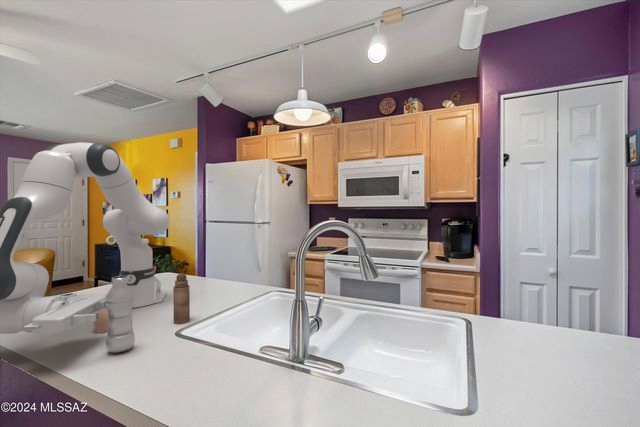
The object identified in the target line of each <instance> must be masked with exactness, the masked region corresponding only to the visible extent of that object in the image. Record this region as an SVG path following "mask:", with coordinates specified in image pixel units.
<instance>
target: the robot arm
mask: <svg viewBox="0 0 640 427" xmlns="http://www.w3.org/2000/svg"><path fill="white" fill-rule="evenodd" d="M91 177H92V178H94V179H95V181H96V183H97V185H98V187H99V188H100V190H101V192H102V194H103V195H104V198H105V199H106V201H107V202H108V204H109V205H110V206H112V207H114V208H116V209H110V210H109V211H106V213H104V215H103V218H102V226H103V228H104V230H105V231H107V232H108V233H109V234H110V235H111V236H112V237H113V239H114V240H115V241H116V243H117V246H118V248H119V249H118V250H119V251H120V270H119V275H118V276H128V283H127V286H128V287H129V288H130V289H131V290H132V291H133V294H134V299H133V306H132V309H133V308H134V309H135V308H141V307H147V306H151V305H154V304H159V303H162V302H163V301H164V300H165V297H166V296H167V293H168V292H167V291H166V290H162V285H161V281H160V280H159V279H158V278H157V277H156V276H155V274H156V273H155V272H156V270H157V266H154V265H153V260H154V259H153V256H154V255H153V248H152V247H151V246H150V245H148V244H147V243H145V242H144V241H143V239H142V237H141V236H153V235H154V236H155V235H159V234H163V233H165V232H166V231H167V230H168V228H169V226H170V217H169V215H168V213H167V212H166V211H165V210H164V209H161V208H160V207H158V206H156V205H155V204H153V203H152V202H151V201H149V200H148V199H147V198H146V197H145V196H144V194H143V193H142V192H141V191H140V189H139V187H138V185H137V183H136V181H135V179H134V177H133V175H132V173H131V171H130V169H129V168H128V166H127V164H126V163H125V161H124V160H123V158H122V157H121V156H120V154H119V153H118V152H117V150H116V149H115V148H114V147H112V146H111V145H109V144H106V143H102V142H101V143H100V142H95V143H93V142H79V141H78V142H72V143H58V144H57V143H55V144H53V145H50V146H48V147H47V148H46V149H45V150H42V151H39V152H36V154H34V155H33V157H32V158H31V161H30V162H29V164H28V165H27V168H26V169H25V171H24V174H23V176H22V178H21V179H22V180H21V182H20V184H19V188H18V190H17V191H16V193H15V195H14V196H13V197H12V198H10V199H8V200H7V201H6V202H4V204H3V205H2V206H1V208H0V335H7V334H8V335H9V334H17V333H20V332H26V333H33V334H38V335H39V334H40V335H51V334H53V335H54V334H55V335H56V334H61V333H65V332H66V331H68V330H69V329H71V328H73V327H75V326H77V325H82V324H85V323H92V322H93V323H94V321H96V320H97V319H98V313H97V312H99V311H101V310H102V309H107V306H106V300H105V298H106V295H105V294H92V293H91V294H89V293H87V294H77V293H76V292H69V293H65V294H60V295H50V296H46V293H47V290H48V288H49V283H50V272H49V270H48V269H47V268H46V267H45V266H44V265H42V264H40V263H34V262H27V261H26V262H25V261H14V256H15V253H16V251H17V249H18V247H19V245H20V243H21V240H22V238H23V236H24V234H25V231H26V230H27V229H28V227H29V226H30V225H32V224H33V223H35V222H38V221H43V220H49V219H52V218H56V217H58V216H60V215H62V214H63V213H64V212H65V211H66V210H67V208H68V206H69V203H70V201H71V197H72V194H73V191H74V185H75V179H76V178H91Z"/></svg>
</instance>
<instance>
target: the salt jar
mask: <svg viewBox="0 0 640 427" xmlns="http://www.w3.org/2000/svg"><path fill="white" fill-rule="evenodd" d="M97 313H98V319H97V320H96V321H94V322H93V333H94V334H97V333H101V334H107V333H108V319H109V318H108V311H107V309H102V310H101V311H99V312H97ZM106 332H107V333H106Z"/></svg>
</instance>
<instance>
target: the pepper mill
mask: <svg viewBox="0 0 640 427" xmlns="http://www.w3.org/2000/svg"><path fill="white" fill-rule="evenodd" d="M187 278H188V277H187V274H186V273H183V272H180V273H178V274H177V275H176V280H175V281H174V286H173V290H172V291H173V324H174V325H175V324H176V325H184V324H187V323H189V322H190V320H191V319H190V318H191V317H190V315H191V314H190V313H191V312H190V311H191V310H190V308H191V306H190V304H191V303H190V301H191V300H190V296H191V295H190V294H191V293H190V292H191V291H190V285H189V279H187Z"/></svg>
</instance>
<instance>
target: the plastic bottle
mask: <svg viewBox="0 0 640 427" xmlns="http://www.w3.org/2000/svg"><path fill="white" fill-rule="evenodd" d="M127 283H128V276H120V275H118V276H113V277H111V286H112V287H111V288H110V289H109V291H108V292H107V293H106V295H105V296H106V298H105V300H106V306H107V311H108V318H109V319H108V332H107V335H106V339H105V346H106V350H107V351H108V352H109V353H112V354H115V353H122V352H127V351H128V350H130V349H132V348H133V347H134V345H135V340H136V339H135V338H136V337H135V332H134V327H133V315H132V314H133V308H132V306H133V299H134V294H133V291H132V290H131V289H130V288H129V287H128V286H127Z"/></svg>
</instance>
